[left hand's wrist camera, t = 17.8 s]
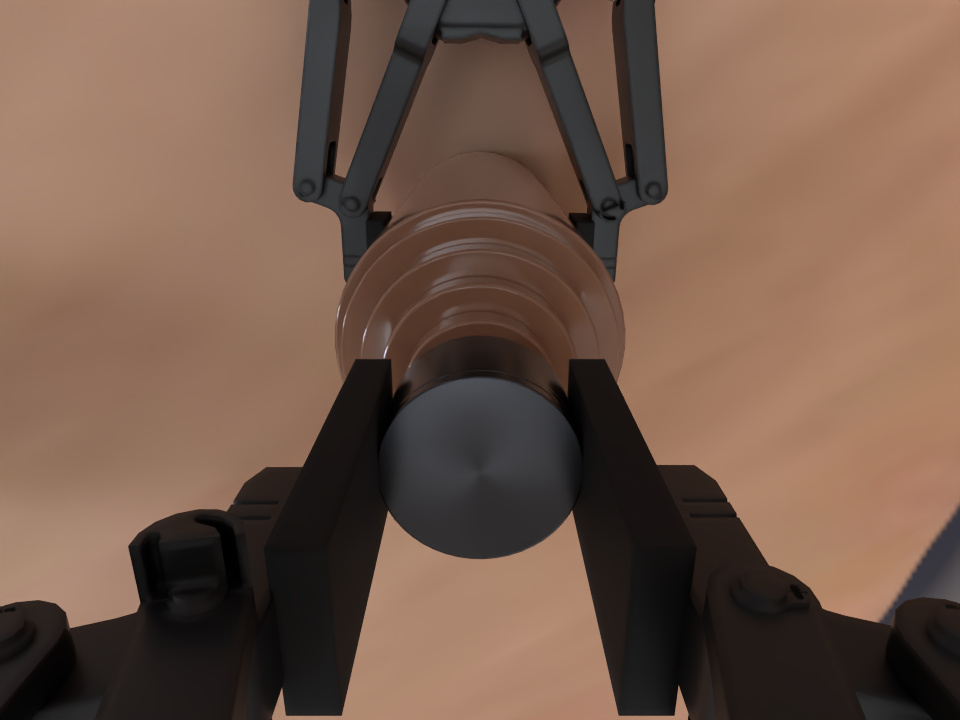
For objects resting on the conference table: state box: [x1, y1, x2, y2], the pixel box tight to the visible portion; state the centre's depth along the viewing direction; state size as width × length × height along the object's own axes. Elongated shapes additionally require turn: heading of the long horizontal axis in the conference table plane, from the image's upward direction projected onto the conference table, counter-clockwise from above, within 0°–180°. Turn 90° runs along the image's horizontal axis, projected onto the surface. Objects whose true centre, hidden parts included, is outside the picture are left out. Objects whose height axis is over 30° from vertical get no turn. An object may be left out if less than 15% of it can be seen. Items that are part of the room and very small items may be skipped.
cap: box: [378, 335, 583, 559], centre depth 14 cm, size 4×4×2 cm
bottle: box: [335, 152, 625, 397], centre depth 25 cm, size 8×8×25 cm
